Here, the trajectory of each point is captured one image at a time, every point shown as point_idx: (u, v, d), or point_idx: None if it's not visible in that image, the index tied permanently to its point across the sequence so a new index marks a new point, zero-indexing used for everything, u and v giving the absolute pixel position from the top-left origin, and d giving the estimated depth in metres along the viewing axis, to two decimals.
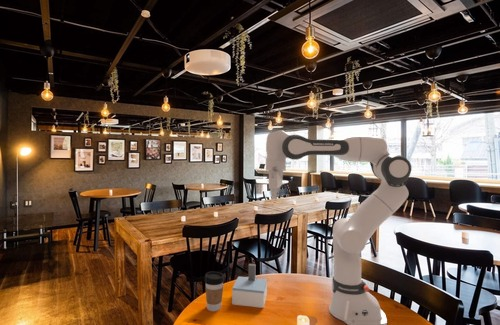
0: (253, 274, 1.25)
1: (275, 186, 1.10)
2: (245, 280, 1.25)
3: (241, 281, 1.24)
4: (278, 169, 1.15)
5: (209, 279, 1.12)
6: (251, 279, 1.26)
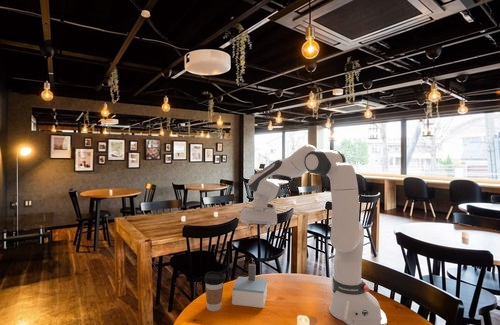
0: (253, 274, 1.25)
1: None
2: (245, 280, 1.25)
3: (241, 281, 1.24)
4: (252, 207, 1.49)
5: (209, 279, 1.12)
6: (251, 279, 1.26)
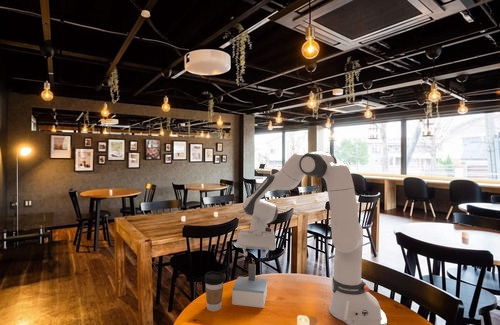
0: (253, 274, 1.25)
1: (236, 243, 1.38)
2: (245, 280, 1.25)
3: (241, 281, 1.24)
4: (249, 231, 1.41)
5: (209, 279, 1.12)
6: (251, 279, 1.26)
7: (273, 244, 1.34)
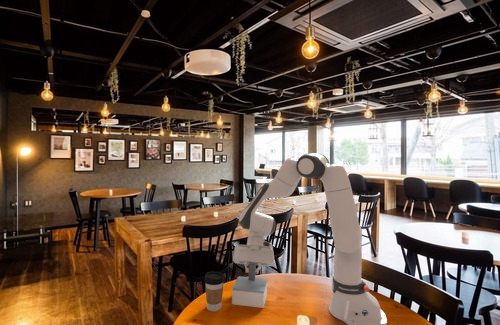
0: (253, 274, 1.25)
1: (233, 258, 1.31)
2: (245, 280, 1.25)
3: (241, 281, 1.24)
4: (246, 245, 1.34)
5: (209, 279, 1.12)
6: (251, 279, 1.26)
7: (271, 260, 1.27)
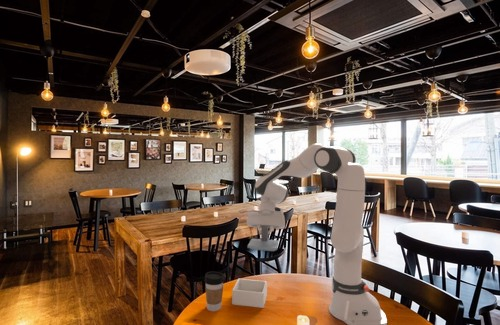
0: (265, 235, 1.36)
1: None
2: (258, 241, 1.36)
3: (255, 241, 1.35)
4: (259, 211, 1.45)
5: (209, 279, 1.12)
6: (264, 240, 1.36)
7: (283, 223, 1.38)
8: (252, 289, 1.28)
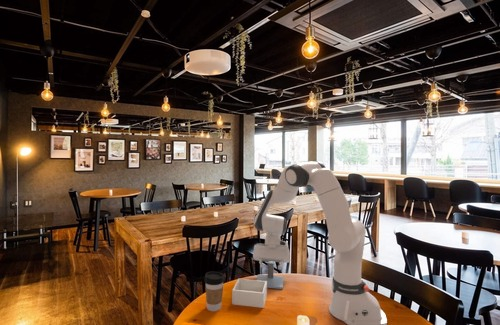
0: (271, 272, 1.42)
1: (253, 255, 1.47)
2: (265, 277, 1.42)
3: (261, 278, 1.41)
4: (264, 244, 1.51)
5: (209, 279, 1.12)
6: (270, 277, 1.42)
7: (288, 257, 1.44)
8: (252, 289, 1.28)
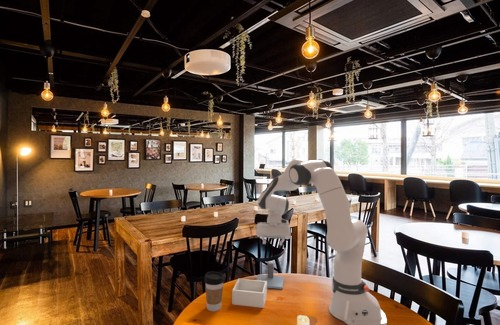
0: (271, 272, 1.42)
1: (256, 232, 1.57)
2: (265, 277, 1.42)
3: (261, 278, 1.41)
4: (267, 222, 1.60)
5: (209, 279, 1.12)
6: (270, 277, 1.42)
7: (288, 233, 1.53)
8: (252, 289, 1.28)
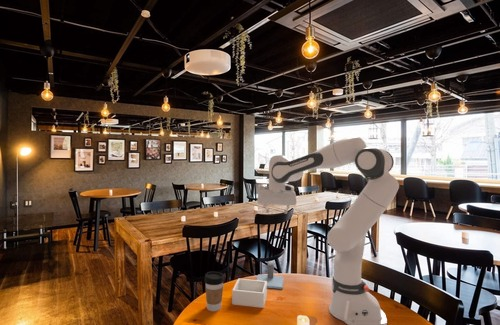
0: (271, 272, 1.42)
1: None
2: (265, 277, 1.42)
3: (261, 278, 1.41)
4: None
5: (209, 279, 1.12)
6: (270, 277, 1.42)
7: (294, 202, 1.36)
8: (252, 289, 1.28)
